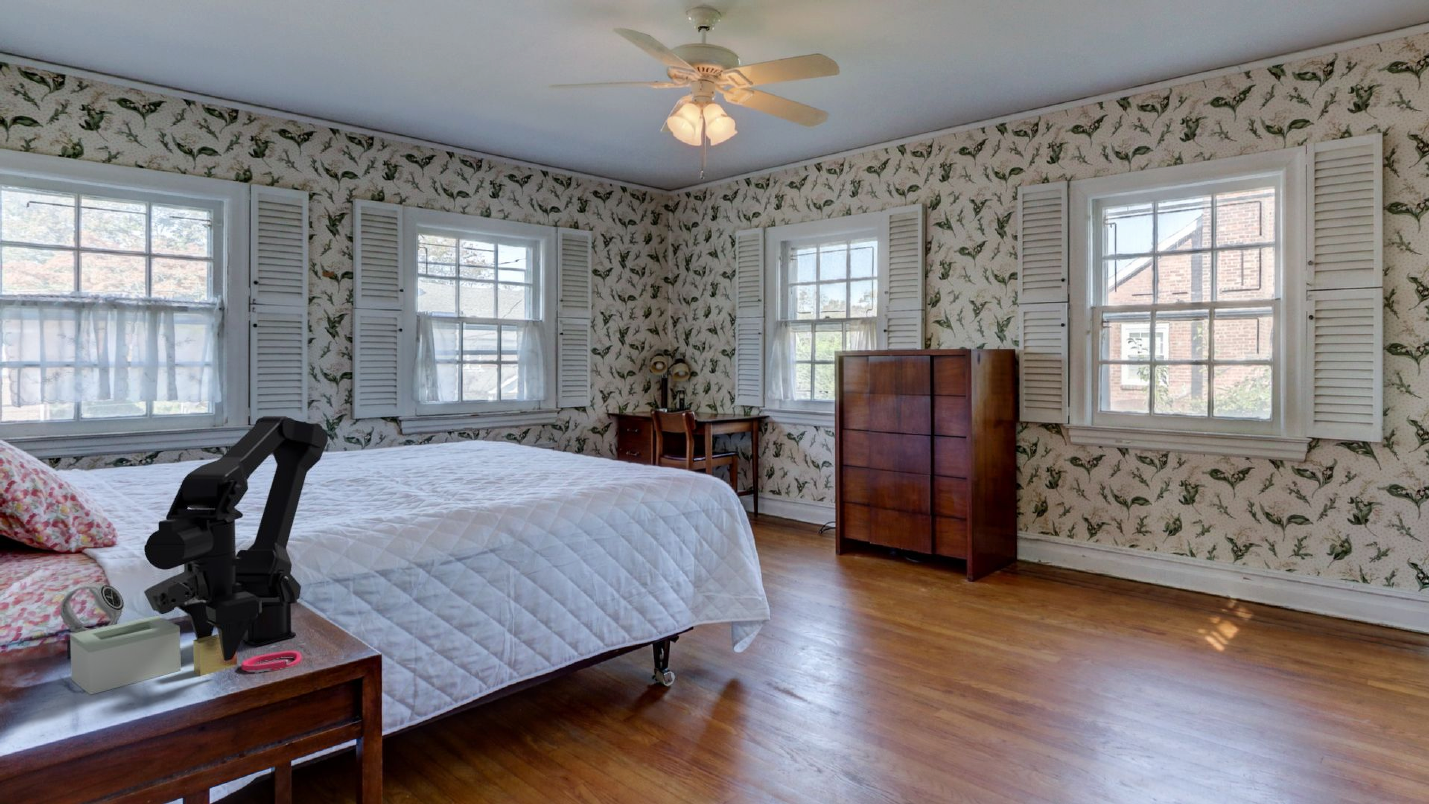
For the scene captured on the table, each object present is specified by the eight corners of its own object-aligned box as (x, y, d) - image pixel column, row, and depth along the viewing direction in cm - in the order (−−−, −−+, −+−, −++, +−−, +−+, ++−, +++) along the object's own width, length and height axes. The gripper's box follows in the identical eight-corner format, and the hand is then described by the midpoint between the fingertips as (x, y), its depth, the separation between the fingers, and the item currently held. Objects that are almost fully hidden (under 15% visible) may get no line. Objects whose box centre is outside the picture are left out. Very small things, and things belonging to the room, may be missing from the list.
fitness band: (240, 678, 114) (240, 668, 114) (242, 665, 119) (242, 655, 119) (301, 668, 118) (301, 658, 118) (301, 656, 123) (301, 646, 123)
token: (230, 662, 119) (229, 631, 119) (237, 666, 118) (236, 634, 118) (193, 672, 115) (193, 639, 115) (200, 676, 114) (199, 643, 114)
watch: (113, 655, 122) (112, 587, 122) (54, 660, 120) (52, 591, 120) (130, 643, 127) (129, 578, 127) (73, 647, 125) (72, 582, 125)
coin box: (159, 657, 121) (158, 615, 121) (180, 670, 116) (179, 626, 116) (71, 679, 112) (70, 634, 112) (90, 694, 107) (89, 647, 107)
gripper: (128, 554, 115) (131, 655, 116) (175, 573, 104) (178, 685, 105) (211, 541, 124) (213, 635, 125) (262, 557, 113) (264, 660, 114)
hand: (215, 653), depth 117 cm, fingers open, 9 cm apart
